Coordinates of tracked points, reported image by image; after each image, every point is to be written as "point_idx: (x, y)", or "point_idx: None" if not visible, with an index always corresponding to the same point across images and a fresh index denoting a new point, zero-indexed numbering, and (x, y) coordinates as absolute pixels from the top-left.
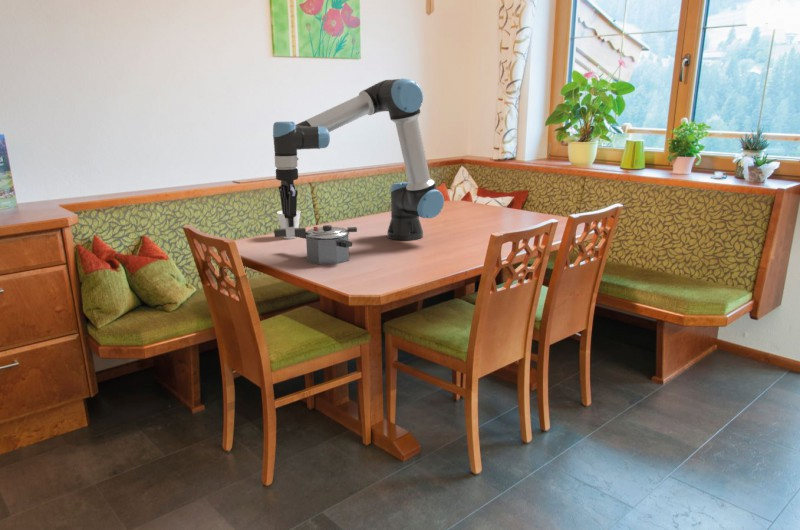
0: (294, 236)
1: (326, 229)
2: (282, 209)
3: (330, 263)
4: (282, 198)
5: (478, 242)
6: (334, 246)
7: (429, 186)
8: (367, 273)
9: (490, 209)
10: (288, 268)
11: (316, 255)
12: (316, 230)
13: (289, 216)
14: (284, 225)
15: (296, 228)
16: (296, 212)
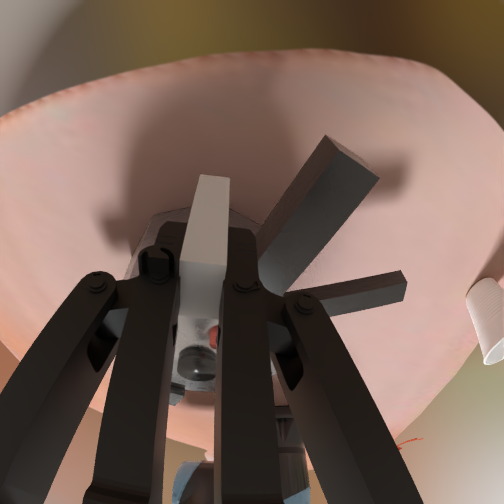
0: (468, 298)
1: (181, 355)
2: (319, 334)
3: (137, 246)
4: (351, 467)
5: (167, 436)
6: None
7: None
8: (24, 268)
9: (307, 467)
10: (169, 99)
11: (157, 231)
12: (210, 331)
13: (86, 276)
14: (499, 303)
15: (277, 280)
16: (498, 355)
